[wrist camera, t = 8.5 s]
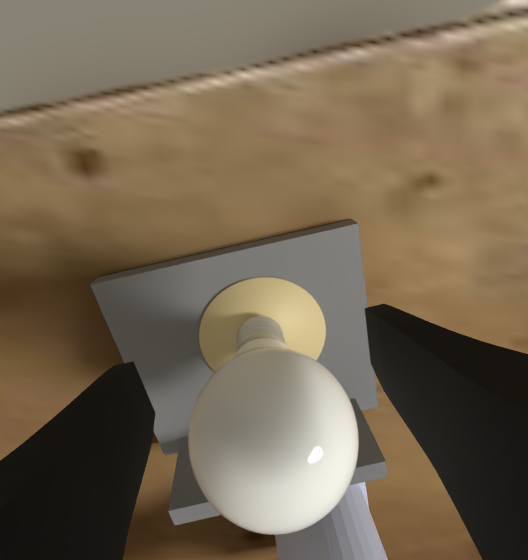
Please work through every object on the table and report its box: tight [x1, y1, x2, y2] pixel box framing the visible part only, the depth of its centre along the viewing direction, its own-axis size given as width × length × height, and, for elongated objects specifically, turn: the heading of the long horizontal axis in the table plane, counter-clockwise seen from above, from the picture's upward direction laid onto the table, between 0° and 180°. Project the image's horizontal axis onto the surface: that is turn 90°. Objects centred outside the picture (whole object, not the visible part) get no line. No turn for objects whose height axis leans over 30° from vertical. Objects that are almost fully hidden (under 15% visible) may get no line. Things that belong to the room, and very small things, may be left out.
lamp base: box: [90, 219, 387, 525], centre depth 20 cm, size 13×15×6 cm
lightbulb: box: [188, 316, 359, 535], centre depth 15 cm, size 6×6×11 cm
